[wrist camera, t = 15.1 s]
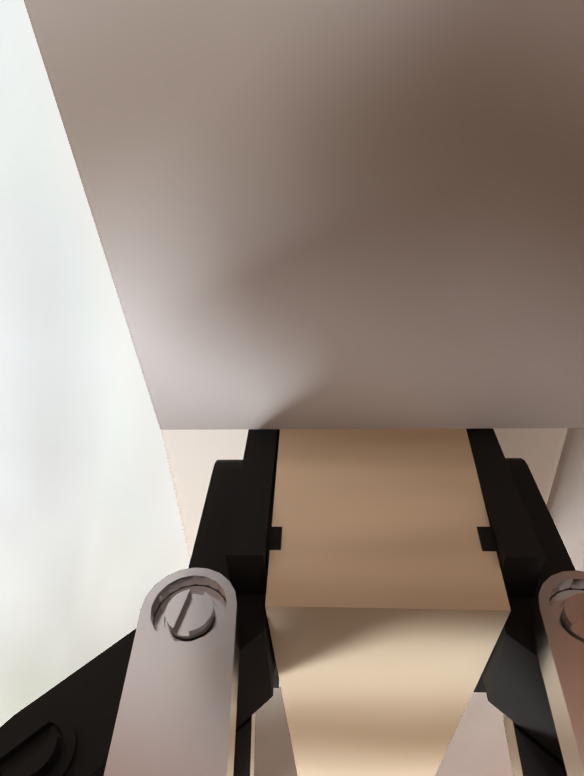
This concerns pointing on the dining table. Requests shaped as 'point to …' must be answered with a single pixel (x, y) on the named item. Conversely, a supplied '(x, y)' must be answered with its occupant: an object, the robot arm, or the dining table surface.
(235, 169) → the turner
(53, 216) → the dining table surface
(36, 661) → the dining table surface
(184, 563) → the dining table surface
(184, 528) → the board
